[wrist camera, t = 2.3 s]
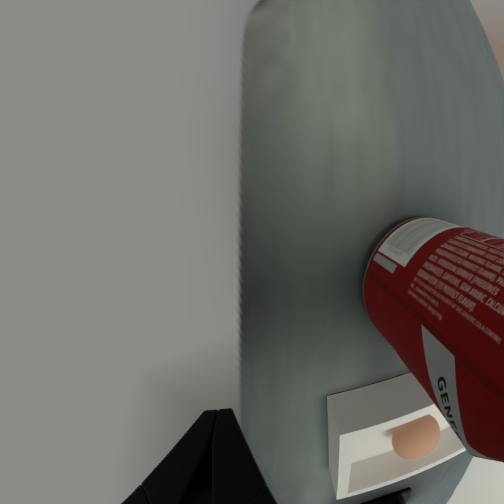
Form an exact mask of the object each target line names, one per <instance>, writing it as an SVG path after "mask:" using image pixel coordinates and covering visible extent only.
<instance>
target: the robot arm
mask: <svg viewBox="0 0 504 504" xmlns="http://www.w3.org/2000/svg"><path fill="white" fill-rule="evenodd" d="M411 491H412V490H411V488H407V489H404V490H402V491H399V492H396V493H394V494H391V495H388V496H385V497H382V498H379V499H376V500H373V501H370V502H367V503H363V504H406V500H407V499H408V497H409V495H410V493H411ZM121 504H277V502H276V501H275V499H274V497H273V496H272V494H271V492H270V490H269V488H268V486H267V484H266V482H265V480H264V478H263V476H262V474H261V472H260V470H259V467H258V465H257V463H256V461H255V459H254V457H253V455H252V453H251V450H250V448H249V446H248V444H247V442H246V439H245V437H244V435H243V433H242V430H241V428H240V426H239V423H238V421H237V419H236V417H235V414H234V412H233V410H232V409H231V408H229V409H220V410H219V411H218V410H206V411H204V412H203V413H202V414H201V415H200V417H199V418H198V419H197V420H196V422H195V423H194V424H193V425H192V426H191V427H190V429H189V430H188V431H187V432H186V434H184V436H183V437H182V438H181V439H180V440H179V442H178V443H177V444H176V445H175V446H174V447H173V449H172V450H171V451H170V452H169V453H168V454H167V455H166V457H165V458H164V459H163V460H162V461H161V462H160V463H159V465H158V466H157V467H156V468H155V469H154V470H153V471H152V472H151V473H150V475H149V476H148V477H147V478H146V479H145V480H144V481H143V482H142V485H139V486H138V487H137V488H136V489H135V491H134V492H133V493H132V494H131V495H130V496H129V497H128V498H127V499H126V500H125V501H124V502H123V503H121Z"/></svg>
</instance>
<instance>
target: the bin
mask: <svg viewBox="0 0 504 504" xmlns="http://www.w3.org/2000/svg"><path fill="white" fill-rule="evenodd" d="M327 412H328V448H329V471H330V475H331V479H332V483H333V487H334V491H335V495H336V499H337V500H338V499H342V498H346V497H350V496H354V495H357V494H361V493H364V492H368V491H371V490H374V489H377V488H380V487H383V486H386V485H389V484H392V483H395V482H397V481H400V480H403V479H405V478H408V477H410V476H413V475H415V474H418V473H420V472H422V471H425V470H427V469H429V468H431V467H434V466H436V465H438V464H440V463H442V462H444V461H446V460H448V459H450V458H452V457H454V456H456V455H458V454H460V453H462V452H463V451H465V450H466V448H465V447H464V445H463V444H462V442H461V441H460V440H459V438H458V437H457V435H456V434H455V432H454V431H453V429H452V428H451V426H450V425H449V424H448V422H447V421H446V419H445V418H444V416H443V415H442V414H441V412H440V411H439V409H438V408H437V407H436V405H435V404H434V402H433V401H432V400H431V398H430V397H429V396H428V394H427V393H426V391H425V390H424V389H423V387H422V386H421V385H420V383H419V382H418V381H417V379H416V378H415V377H414V375H413V374H412V373H411V372H410V373H407V374H404V375H401V376H398V377H395V378H392V379H388V380H385V381H382V382H379V383H375V384H372V385H368V386H365V387H361V388H357V389H354V390H350V391H346V392H342V393H338V394H333V395H329V396H327ZM428 414H429V415H431V416H433V417H434V418H435V419H436V420H437V422H438V424H439V427H440V436H439V440H438V443H437V444H436V446H435V448H434V449H433V450H432V451H431V452H430V453H429V454H427V455H426V456H424V457H422V458H419V459H415V460H409V459H404V458H402V457H400V456H399V455H398V454H397V453H396V452H395V451H394V449H393V446H392V435H393V432H394V429H395V427H396V426H399V425H402V424H405V423H407V422H410V421H413V420H415V419H418V418H420V417H423V416H425V415H428Z"/></svg>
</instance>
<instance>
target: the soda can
mask: <svg viewBox="0 0 504 504" xmlns="http://www.w3.org/2000/svg"><path fill="white" fill-rule="evenodd" d="M363 301H364V306H365V309H366V312H367V314H368V316H369V318H370V319H371V321H372V322H373V324H374V325H375V326H376V327H377V329H378V330H379V331H380V332H381V334H382V335H383V336H384V337H385V339H386V340H387V341H388V343H389V344H390V345H391V346H392V348H393V349H394V350H395V352H396V353H397V354H398V355H399V357H400V358H401V359H402V361H403V362H404V363H405V365H406V366H407V367H408V369H409V370H410V371H411V373H412V374H413V375H414V377H415V378H416V379H417V381H418V382H419V383H420V385H421V386H422V387H423V389H424V390H425V391H426V393H427V394H428V396H429V397H430V398H431V400H432V401H433V402H434V404H435V405H436V407H437V408H438V409H439V411H440V412H441V414H442V415H443V416H444V418H445V419H446V421H447V422H448V424H449V425H450V426H451V428H452V429H453V431H454V432H455V434H456V435H457V437H458V438H459V440H460V441H461V442H462V444H463V445H464V447H465V448H466V450H467V451H468V452H469V453H470V454H471V455H473V456H475V457H479V458H484V459H489V460H496V461H501V462H504V239H501V238H498V237H495V236H492V235H489V234H486V233H483V232H480V231H477V230H473V229H470V228H467V227H463V226H460V225H457V224H453V223H450V222H446V221H443V220H439V219H436V218H431V217H416V218H412V219H409V220H406V221H404V222H402V223H400V224H398V225H397V226H395V227H394V228H393V229H391V230H390V231H389V232H388V233H387V234H386V235H385V236H384V237H383V238H382V239H381V241H380V242H379V243H378V245H377V246H376V248H375V249H374V251H373V253H372V255H371V257H370V259H369V261H368V264H367V267H366V270H365V274H364V279H363Z"/></svg>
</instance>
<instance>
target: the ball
mask: <svg viewBox="0 0 504 504" xmlns="http://www.w3.org/2000/svg"><path fill="white" fill-rule="evenodd" d="M439 436H440V427H439V424H438V422H437V420H436V419H435V418H434V417H433V416H431V415H429V414H428V415H425V416H423V417H420V418H418V419H415V420H413V421H410V422H407V423H405V424H402V425H399V426H396V427H395V429H394V432H393V435H392V446H393V449H394V451H395V452H396V453H397V454H398V455H399V456H400V457H402V458H404V459H409V460H415V459H419V458H422V457H424V456H426V455H427V454H429V453H430V452H431V451H432V450H433V449H434V448H435V446H436V444H437V443H438V440H439Z"/></svg>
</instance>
